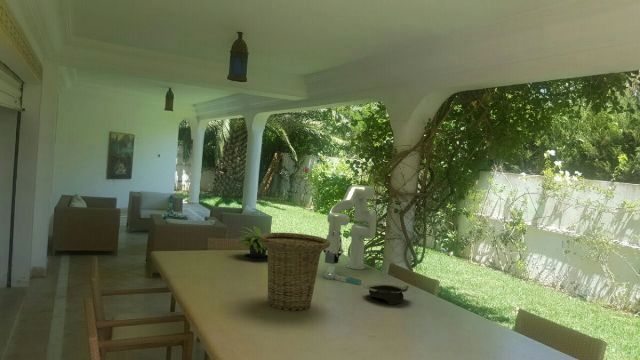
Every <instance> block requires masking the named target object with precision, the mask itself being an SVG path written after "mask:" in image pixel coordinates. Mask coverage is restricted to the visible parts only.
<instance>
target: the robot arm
mask: <svg viewBox="0 0 640 360" xmlns="http://www.w3.org/2000/svg"><path fill="white" fill-rule="evenodd" d="M375 193H376V191H375V188H374V187H373V186H370V185H362V184H353V185H350V186H348V188H347V190H346V192H345V194H344V197H343V199H342V200H341V201H338V202H337V203H335V204H334V205H332V207H331V209H330V210H329V212H328V215H327V218H326V219H327V222H328V223H329V224H328V225H329V226H328V234H327V235H326V238H325V239H327V240H329V241H330V246H329V247H328V248H326V249H324V250H323V251H322V252H323V253H324V255H326V253H327V252H334V253H335V254H336V257H335V263H336V264H339V261H340V259H339V258H340V256H342V255H343V254H344V253H345V251H344V249H343V248H342V247H343V246H342V245H343V241H342V240H343V239H342V235H343V233H342V232H341V230H342V226H343V227H345V226H347V225H349V223H350V221H351V219H350V216H349V215H348V214H346V213H340V212H342V211H347V210H351V209H353V208H354V216H353V218H354V221H356V222H358V223H354V224H352V225H351V227H350V235H351V241H350V251H349V262H348V264H347V265H346V268H349V269H351V270H364V269H365V266H364V264H365V261H364V254H365V253H364V252H365V242H364V239H368V240H369V239H370V240H371V239H374V238H375V235H376V229H377V217H378V216H377V212H376V211H375V210H373V209H368V201H367V200H369V199H370V200H371V199H373V198H374V196H375Z"/></svg>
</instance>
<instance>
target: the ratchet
mask: <svg viewBox="0 0 640 360" xmlns="http://www.w3.org/2000/svg"><path fill="white" fill-rule="evenodd" d="M335 267H336V266H334V265H328V266H327V270H326V271H325V272H323V273H324V274H323V278H324V279H326V280H332V279H333V280H336V281H340V282H343V281H344V283H347V284H352V285H356V286H360V285H362V279H359V278H355V277H346V276H342V275H338V274H337V273H336V272H335Z"/></svg>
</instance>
